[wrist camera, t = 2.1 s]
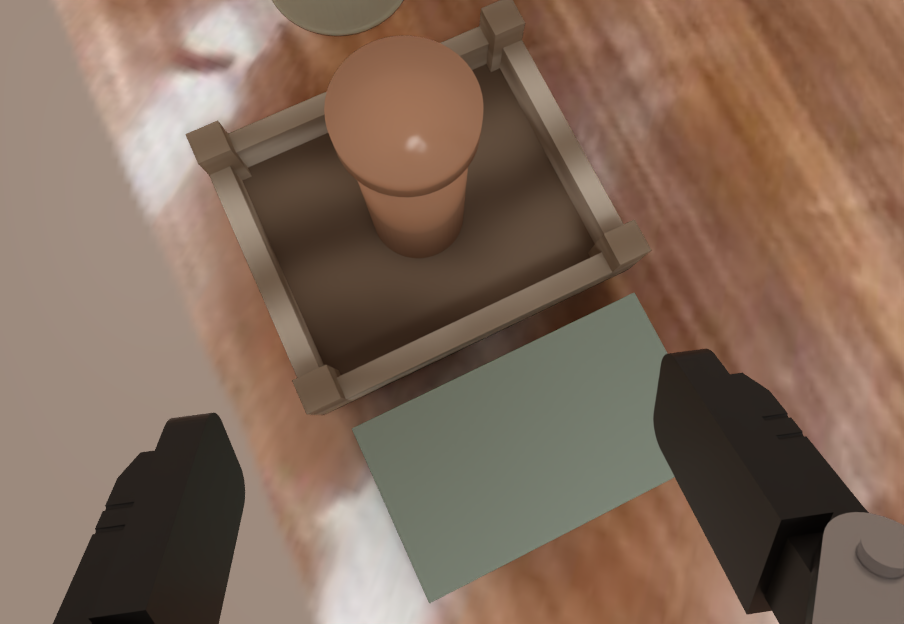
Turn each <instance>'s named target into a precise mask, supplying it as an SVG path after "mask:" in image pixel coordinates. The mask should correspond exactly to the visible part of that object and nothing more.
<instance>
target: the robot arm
mask: <svg viewBox="0 0 904 624" xmlns="http://www.w3.org/2000/svg"><path fill="white" fill-rule="evenodd" d="M653 424H654V431H655V436H656V439H657V442H658V445H659V447H660V450H661V452H662V453H663V455H664V457H665V459H666V461H667V463H668V465H669V467H670V469H671V471H672V473H673V474H674V476H675V478H676V480H677V482H678V484H679V486H680V488H681V490H682V492H683V494H684V495H685V497H686V499H687V501H688V503H689V505H690V507H691V509H692V511H693V513H694V515H695V516H696V518H697V520H698V522H699V524H700V526H701V528H702V530H703V532H704V534H705V536H706V537H707V539H708V541H709V543H710V545H711V547H712V549H713V551H714V553H715V555H716V557H717V558H718V560H719V562H720V564H721V566H722V568H723V570H724V572H725V574H726V576H727V578H728V579H729V581H730V583H731V585H732V587H733V589H734V591H735V593H736V595H737V597H738V598H739V600H740V602H741V604H742V606H743V608H744V610H745V612H746V614H753V613H760V612H766V611H773V613H774V615H775V617H776V618H777V620H778V622H779V624H904V525H902V524H900V523H898V522H896V521H894V520H891V519H889V518H886V517H883V516H880V515H876V514H871V513H869V512H868V511H867V510H866V509H865V508H864V507H863V506H862V505H861V503H860V502H859V501H858V500H857V498H856V497H855V496H854V495H853V493H852V492H851V491H850V490H849V489H848V487H847V486H846V485H845V484H844V482H843V481H842V480H841V479H840V477H839V476H838V475H837V474H836V472H835V471H834V470H833V469H832V468H831V466H830V465H829V464H828V463H827V461H826V460H825V459H824V458H823V456H822V455H821V454H820V453H819V451H818V450H817V449H816V448H815V447H814V445H813V444H812V443H811V442H810V440H809V439H808V438H807V437H804V436H803V434H802V430H801V429H800V428H799V427H798V426H797V424H796V423H795V422H794V421H793V419H792V418H788V416H787V412H786V411H785V409H784V408H783V407H782V406H781V405H780V403H779V402H778V401H777V400H776V398H775V397H774V396H773V395H772V393H771V392H770V391H769V390H767V389H766V388H764V387H763V386H761V385H760V384H758V383H757V382H755V381H754V380H752V379H751V378H749V377H748V376H746V375H745V374H743V373H738V374H729V373H728V371H727V370H726V369H725V367H724V366H723V365H722V363H721V362H720V361H719V359H718V358H717V357H716V355H715V354H714V353H713V352H712V351H711V350H709V349H700V350H692V351H685V352H677V353H670V354H665V355H664V357H663V358H662V361H661V367H660V373H659V380H658V387H657V394H656V400H655V407H654V414H653ZM244 501H245V485H244V477H243V473H242V469H241V467H240V464H239V462H238V460H237V457H236V455H235V453H234V450H233V447H232V445H231V443H230V440H229V438H228V435H227V433H226V430H225V428H224V426H223V423H222V421H221V419H220V417H219V416H218V415H217V414H216V413H208V414H200V415H193V416H186V417H179V418H171V419H170V420H168V421H167V423H166V425H165V427H164V429H163V432H162V434H161V437H160V439H159V442H158V444H157V447H156V449H155V451H149V452H142V453H140V454H139V455H138V456H137V457H136V458H135V459H134V460H133V462H132V463H131V464H130V465H129V466H128V467H127V468H126V469H125V470H124V472H123V473H122V474H121V475H120V476H119V477H118V478H117V481H116V483H115V485H114V487H113V490H112V492H111V494H110V496H109V499H108V501H107V503H106V505H105V506H106V510H105V511H103V512H102V514H101V517H100V519H99V521H98V524H97V526H96V528H95V529H96V533H95V534H93V535H92V537H91V539H90V541H89V544H88V546H87V548H86V551H85V553H84V555H83V557H82V559H81V562H80V564H79V566H78V569H77V571H76V573H75V575H74V577H73V580H72V582H71V584H70V586H69V589H68V591H67V593H66V596H65V598H64V600H63V602H62V604H61V607H60V609H59V611H58V613H57V616H56V618H55V620H54V623H53V624H219V619H220V615H221V610H222V605H223V601H224V596H225V591H226V587H227V582H228V577H229V572H230V568H231V563H232V559H233V554H234V549H235V545H236V540H237V535H238V530H239V526H240V522H241V517H242V512H243V507H244Z"/></svg>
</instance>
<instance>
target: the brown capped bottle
mask: <svg viewBox="0 0 904 624" xmlns="http://www.w3.org/2000/svg"><path fill="white" fill-rule="evenodd" d="M324 114H325V122H326V126H327V130H328V133H329V136H330V138H331V141H332V143H333V146H334V148H335V150H336V153H337V155H338V157H339V159H340V161H341V163H342V164H343V166H344V167H345V168H346V170H347V171H348V172H349V173H350V174H351V175H352V176H353V177H354V178H355V179H356V180H357V181H358V183H359V186H360V189H361V192H362V194H363V197H364V200H365V202H366V205H367V208H368V211H369V213H370V216H371V219H372V222H373V224H374V227H375V230H376V232H377V234H378V236H379V238H380V239H381V240H382V242H383V243H384V244H385V245H386V246H387V247H388V248H389V249H391V250H392V251H394V252H396V253H397V254H400V255H402V256H405V257H410V258H426V257H431V256H434V255H436V254H439V253H441V252H442V251H444V250H445V249H447V248H448V247H449V246H450V245H451V244H452V243H453V242H454V241H455V240H456V238H457V236H458V235H459V233H460V231H461V228H462V225H463V219H464V208H465V196H466V185H467V174H468V166H469V165H470V163H471V162H472V160H473V158H474V156H475V154H476V152H477V149H478V146H479V142H480V136H481V129H482V121H483V97H482V92H481V89H480V85H479V83H478V81H477V78H476V76H475V75H474V73H473V71H472V70H471V68H470V67H469V66H468V64H467V63H466V62H465V61H464V60H463V59H462V58H461V57H460V56H459V55H458V54H457V53H455V52H454V51H453V50H451V49H450V48H448V47H446V46H444V45H443V44H441V43H438V42H436V41H433V40H431V39H427V38H423V37H417V36H403V35H401V36H391V37H386V38H382V39H379V40H376V41H373V42H371V43H369V44H366V45H364V46H362V47H361V48H359V49H358V50H356V51H355V52H354V53H352V54H351V55H350V56H349V57H348V58H346V60H345V61H344V62H343V63H342V64H341V65H340V66H339V68H338V69H337V71H336V72H335V73H334V75H333V77H332V79H331V81H330V84H329V86H328V89H327V93H326V97H325V106H324Z"/></svg>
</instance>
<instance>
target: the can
mask: <svg viewBox="0 0 904 624" xmlns="http://www.w3.org/2000/svg"><path fill="white" fill-rule="evenodd" d="M272 1H273V2H274V4H275V5H276V7H277V8H278V9H279V10H280V12H281V13H282V14H283V15H284V16H285V17H286V18H288V19H289V20H290V21H292V22H293V23H294V24H296V25H298V26H300V27H301V28H304V29H306V30H308V31H311V32H314V33H318V34H323V35H331V36H343V35H351V34H356V33H360V32H363V31H366V30H369V29H371V28H373V27H375V26H377V25H379V24H380V23H382V22H383V21H385V20H386V19H387V18H389V17H390V16H391V15H392V14H393V13H394V12H395V11H396V10H397V9H398V7H399V6H400V5H401V3H402V2H403V0H272Z"/></svg>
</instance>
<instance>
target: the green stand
mask: <svg viewBox="0 0 904 624" xmlns="http://www.w3.org/2000/svg"><path fill="white" fill-rule="evenodd" d="M665 354H667V352H666V350H665V348H664V346H663V344H662V343H661V341H660V339H659V337H658V335H657V333H656V331H655V330H654V328H653V326H652V324H651V322H650V320H649V319H648V317H647V315H646V313H645V311H644V309H643V308H642V306H641V304H640V302H639V300H638V298H637V297H636V295H635V293H632V294H630V295H628V296H626V297H624V298H622V299H620V300H618V301H616V302H614V303H612V304H609V305H607V306H605V307H603V308H601V309H599V310H597V311H595V312H593V313H591V314H589V315H587V316H585V317H582V318H580V319H578V320H576V321H574V322H572V323H570V324H568V325H566V326H564V327H562V328H560V329H558V330H555V331H553V332H551V333H549V334H547V335H545V336H543V337H541V338H539V339H537V340H535V341H533V342H531V343H529V344H526V345H524V346H522V347H520V348H518V349H516V350H514V351H512V352H510V353H508V354H506V355H504V356H502V357H499V358H497V359H495V360H493V361H491V362H489V363H487V364H485V365H483V366H481V367H479V368H477V369H475V370H472V371H470V372H468V373H466V374H464V375H462V376H460V377H458V378H456V379H454V380H452V381H450V382H448V383H445V384H443V385H441V386H439V387H437V388H435V389H433V390H431V391H429V392H427V393H425V394H423V395H421V396H418V397H416V398H414V399H412V400H410V401H408V402H406V403H404V404H402V405H400V406H398V407H396V408H394V409H392V410H389V411H387V412H385V413H383V414H381V415H379V416H377V417H375V418H373V419H371V420H369V421H367V422H365V423H362V424H360V425H358V426H356V427H354V428H352V430H353V433H354V435H355V437H356V439H357V442H358V444H359V446H360V448H361V451H362V453H363V455H364V457H365V460H366V462H367V464H368V466H369V469H370V471H371V473H372V475H373V478H374V480H375V482H376V484H377V487H378V489H379V491H380V494H381V496H382V498H383V500H384V503H385V505H386V507H387V509H388V512H389V514H390V516H391V518H392V521H393V523H394V525H395V527H396V530H397V532H398V534H399V536H400V539H401V541H402V543H403V545H404V548H405V550H406V552H407V554H408V557H409V559H410V561H411V563H412V566H413V568H414V570H415V572H416V575H417V577H418V579H419V581H420V584H421V586H422V588H423V590H424V593H425V595H426V597H427V599H428V602H429V603H431V602H433V601H435V600H437V599H439V598H441V597H443V596H445V595H447V594H449V593H451V592H453V591H454V590H456V589H458V588H460V587H462V586H464V585H466V584H468V583H470V582H472V581H474V580H476V579H478V578H480V577H482V576H484V575H486V574H487V573H489V572H491V571H493V570H495V569H497V568H499V567H501V566H503V565H505V564H507V563H509V562H511V561H513V560H515V559H517V558H519V557H520V556H522V555H524V554H526V553H528V552H530V551H532V550H534V549H536V548H538V547H540V546H542V545H544V544H546V543H548V542H550V541H552V540H554V539H555V538H557V537H559V536H561V535H563V534H565V533H567V532H569V531H571V530H573V529H575V528H577V527H579V526H581V525H583V524H585V523H587V522H588V521H590V520H592V519H594V518H596V517H598V516H600V515H602V514H604V513H606V512H608V511H610V510H612V509H614V508H616V507H618V506H620V505H621V504H623V503H625V502H627V501H629V500H631V499H633V498H635V497H637V496H639V495H641V494H643V493H645V492H647V491H649V490H651V489H653V488H654V487H656V486H658V485H660V484H662V483H664V482H666V481H668V480H670V479H672V478H674V477H675V476H674V474H673V473H672V471H671V469H670V467H669V465H668V463H667V461H666V459H665V457H664V455H663V453H662V452H661V450H660V447H659V445H658V442H657V439H656V436H655V431H654V424H653V414H654V407H655V400H656V394H657V387H658V380H659V373H660V367H661V361H662V358H663V357H664V355H665Z"/></svg>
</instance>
